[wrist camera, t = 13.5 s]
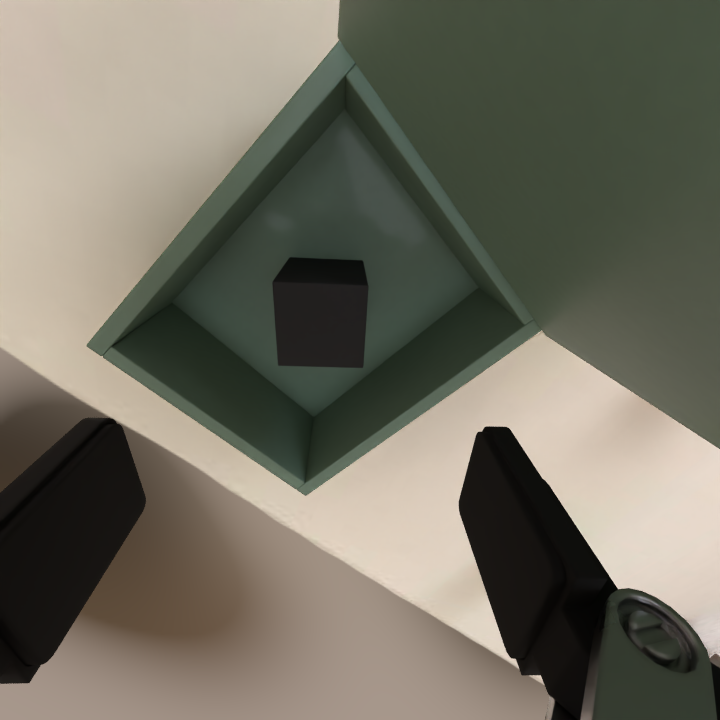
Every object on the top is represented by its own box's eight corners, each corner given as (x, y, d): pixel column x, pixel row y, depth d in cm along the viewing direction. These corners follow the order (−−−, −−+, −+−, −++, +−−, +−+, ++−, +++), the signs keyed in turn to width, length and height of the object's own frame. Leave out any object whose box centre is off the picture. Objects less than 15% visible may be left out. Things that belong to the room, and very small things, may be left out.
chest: (314, 422, 28) (305, 496, 21) (159, 297, 22) (85, 346, 16) (490, 284, 23) (547, 326, 16) (345, 84, 18) (345, 31, 11)
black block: (292, 326, 23) (277, 366, 18) (289, 256, 21) (271, 281, 16) (359, 328, 23) (363, 368, 18) (363, 260, 21) (368, 285, 16)
